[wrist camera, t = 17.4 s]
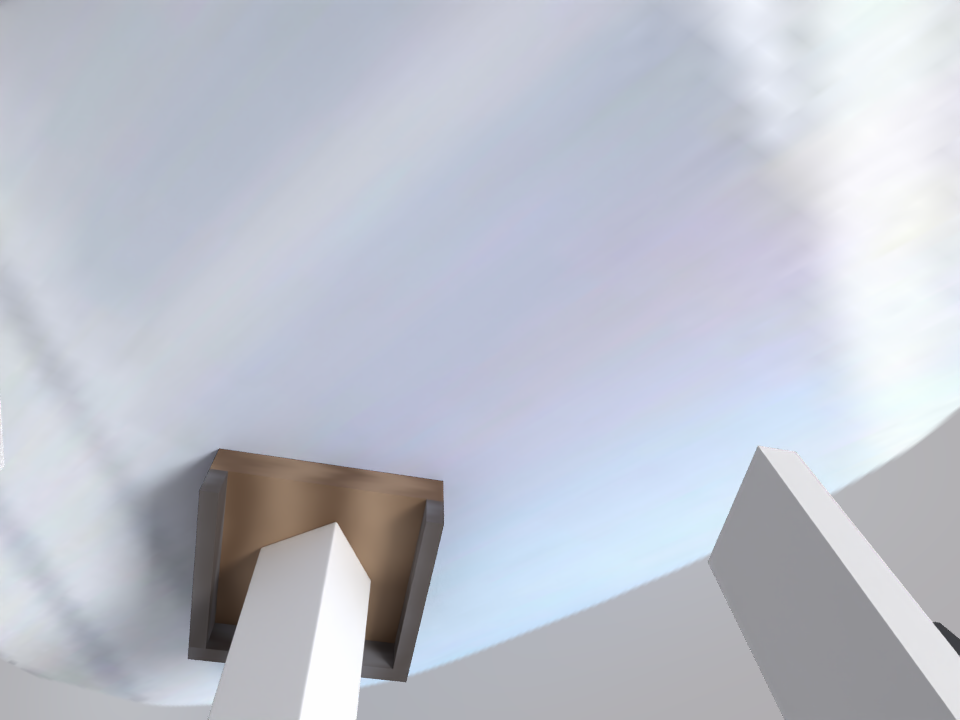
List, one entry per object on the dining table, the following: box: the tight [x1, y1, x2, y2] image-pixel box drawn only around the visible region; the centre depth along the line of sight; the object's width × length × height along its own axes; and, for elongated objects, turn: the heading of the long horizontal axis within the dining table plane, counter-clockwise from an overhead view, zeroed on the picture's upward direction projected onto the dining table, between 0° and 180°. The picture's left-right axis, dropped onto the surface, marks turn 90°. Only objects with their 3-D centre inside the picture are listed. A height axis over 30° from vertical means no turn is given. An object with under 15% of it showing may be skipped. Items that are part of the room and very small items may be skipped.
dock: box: [188, 449, 444, 682], centre depth 55 cm, size 16×15×5 cm
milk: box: [208, 522, 371, 720], centre depth 45 cm, size 6×6×22 cm
